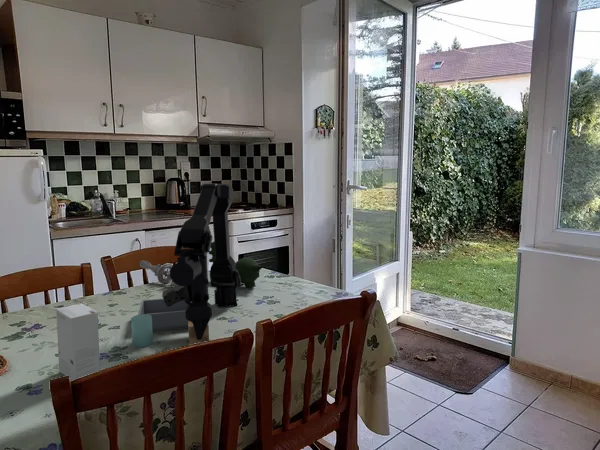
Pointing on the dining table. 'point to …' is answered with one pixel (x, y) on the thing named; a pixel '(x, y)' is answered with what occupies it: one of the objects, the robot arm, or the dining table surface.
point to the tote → (165, 314)
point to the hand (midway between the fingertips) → (198, 332)
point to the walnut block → (193, 336)
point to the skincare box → (78, 340)
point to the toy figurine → (243, 269)
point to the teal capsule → (142, 330)
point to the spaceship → (159, 271)
